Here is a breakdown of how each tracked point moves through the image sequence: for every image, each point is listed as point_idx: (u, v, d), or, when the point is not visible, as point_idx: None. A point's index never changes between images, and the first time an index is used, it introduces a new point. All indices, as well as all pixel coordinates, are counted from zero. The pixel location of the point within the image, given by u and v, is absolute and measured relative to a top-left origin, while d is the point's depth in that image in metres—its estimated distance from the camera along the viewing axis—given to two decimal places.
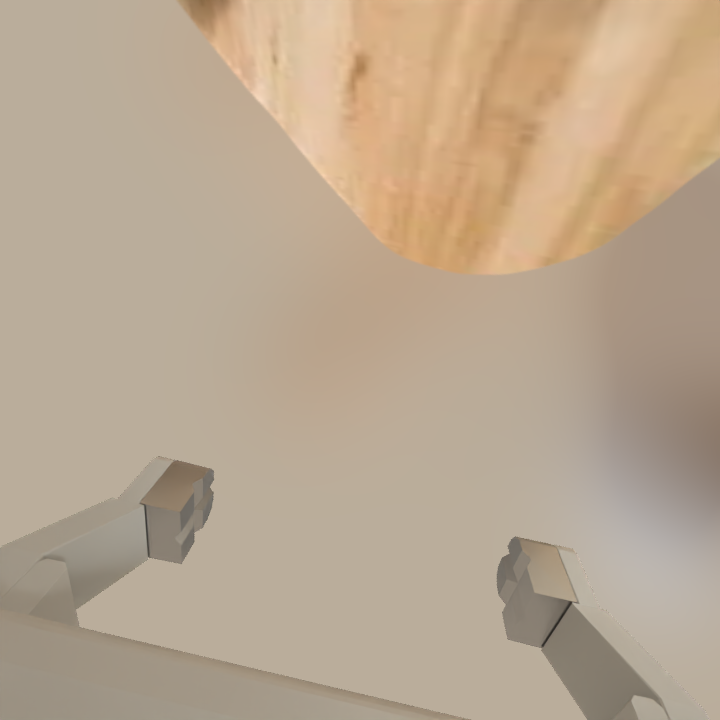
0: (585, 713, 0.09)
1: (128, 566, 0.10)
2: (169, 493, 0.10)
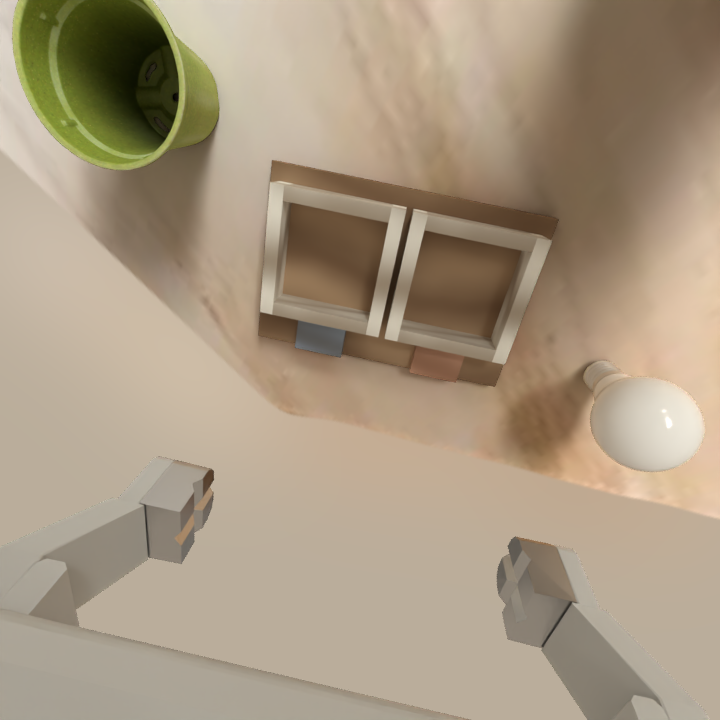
0: (585, 713, 0.09)
1: (128, 565, 0.10)
2: (169, 493, 0.10)
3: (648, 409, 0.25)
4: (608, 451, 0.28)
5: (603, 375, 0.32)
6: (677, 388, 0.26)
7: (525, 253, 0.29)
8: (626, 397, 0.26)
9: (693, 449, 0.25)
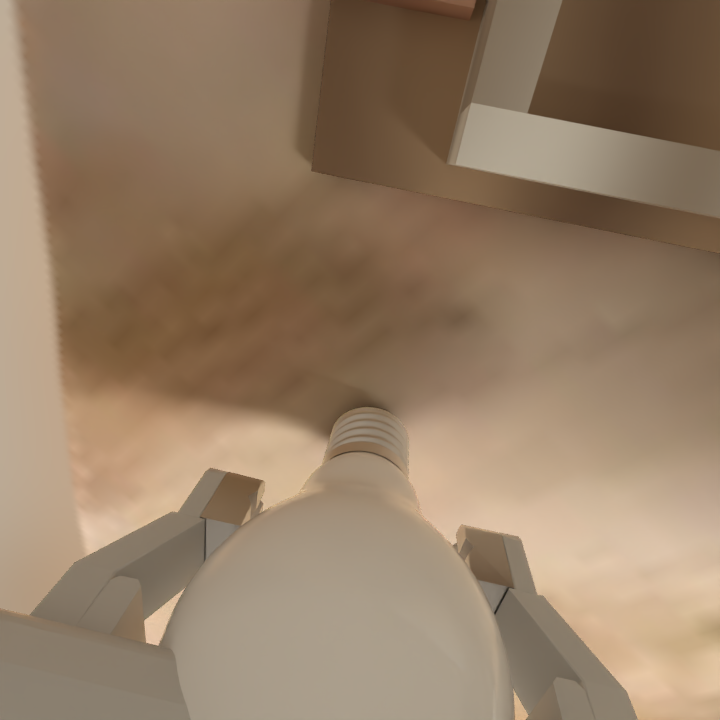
0: (520, 698, 0.09)
1: (187, 579, 0.09)
2: (227, 506, 0.10)
3: None
4: (202, 663, 0.06)
5: (399, 464, 0.12)
6: None
7: None
8: (479, 664, 0.06)
9: None
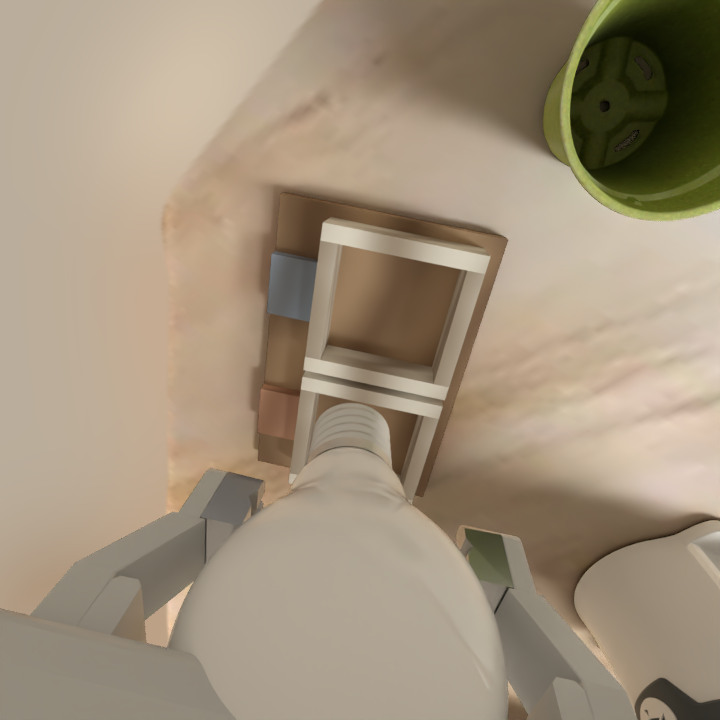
0: (520, 698, 0.09)
1: (187, 579, 0.09)
2: (227, 506, 0.10)
3: None
4: (219, 660, 0.06)
5: (383, 456, 0.12)
6: None
7: None
8: (476, 634, 0.07)
9: None
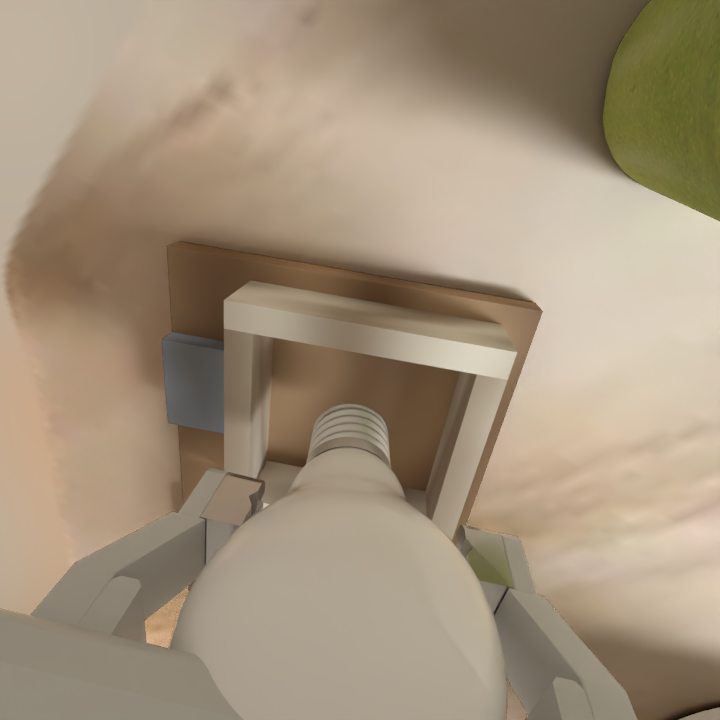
0: (520, 698, 0.09)
1: (187, 579, 0.09)
2: (228, 506, 0.10)
3: None
4: (220, 660, 0.06)
5: (382, 456, 0.12)
6: None
7: None
8: (475, 633, 0.07)
9: None
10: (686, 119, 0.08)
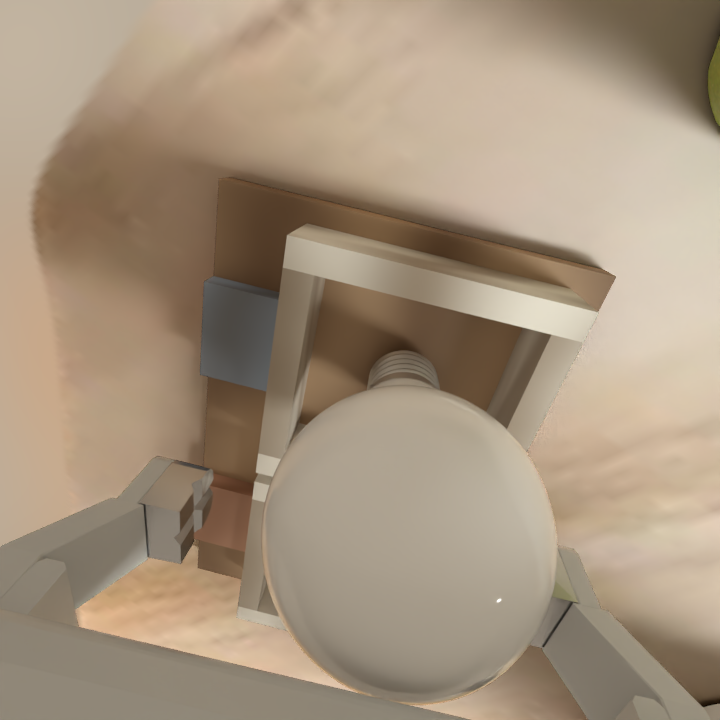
0: (586, 713, 0.09)
1: (127, 565, 0.10)
2: (168, 493, 0.10)
3: (540, 566, 0.07)
4: (329, 472, 0.07)
5: None
6: None
7: None
8: (535, 484, 0.08)
9: (403, 703, 0.08)
10: None
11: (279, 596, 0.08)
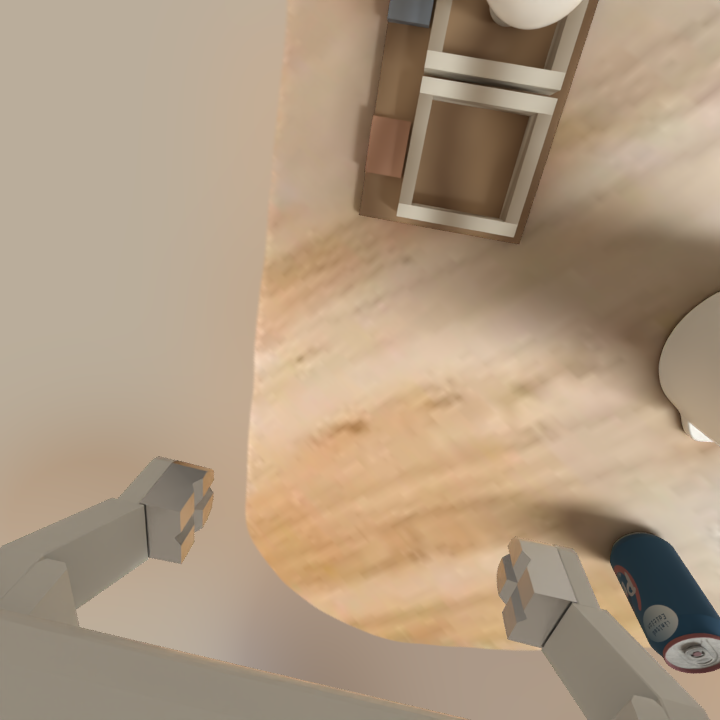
0: (585, 713, 0.09)
1: (128, 565, 0.10)
2: (169, 493, 0.10)
3: None
4: None
5: None
6: None
7: (497, 219, 0.34)
8: None
9: None
10: None
11: None
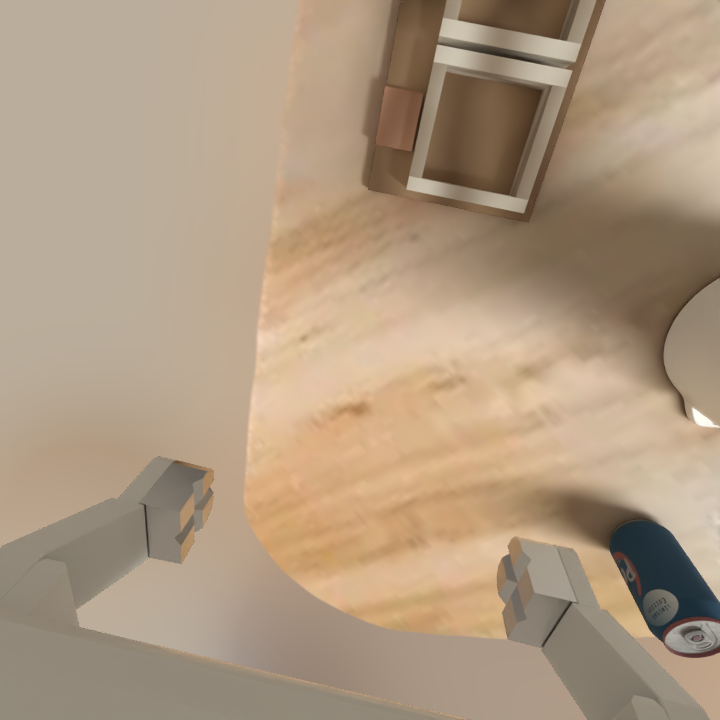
0: (585, 713, 0.09)
1: (128, 565, 0.10)
2: (169, 493, 0.10)
3: None
4: None
5: None
6: None
7: (508, 195, 0.33)
8: None
9: None
10: None
11: None
